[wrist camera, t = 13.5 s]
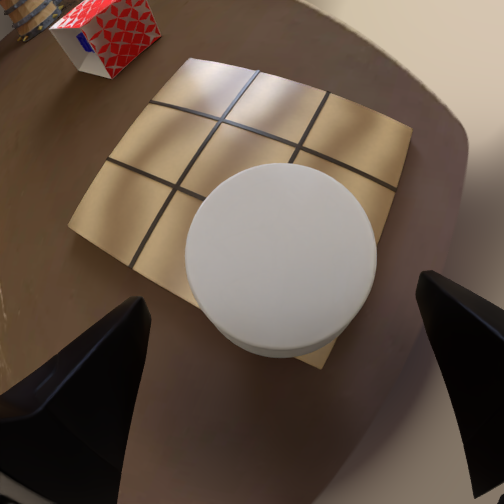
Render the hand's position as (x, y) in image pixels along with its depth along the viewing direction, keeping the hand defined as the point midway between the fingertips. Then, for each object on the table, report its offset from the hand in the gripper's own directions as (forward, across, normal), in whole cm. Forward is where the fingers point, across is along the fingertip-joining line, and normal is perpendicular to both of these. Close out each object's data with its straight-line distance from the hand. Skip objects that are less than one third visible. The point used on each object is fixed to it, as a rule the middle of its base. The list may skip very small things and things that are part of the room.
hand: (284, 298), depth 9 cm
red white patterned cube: (+27, +16, -14) cm, 34 cm away
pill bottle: (+6, 0, +5) cm, 8 cm away
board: (+13, +2, 0) cm, 13 cm away
